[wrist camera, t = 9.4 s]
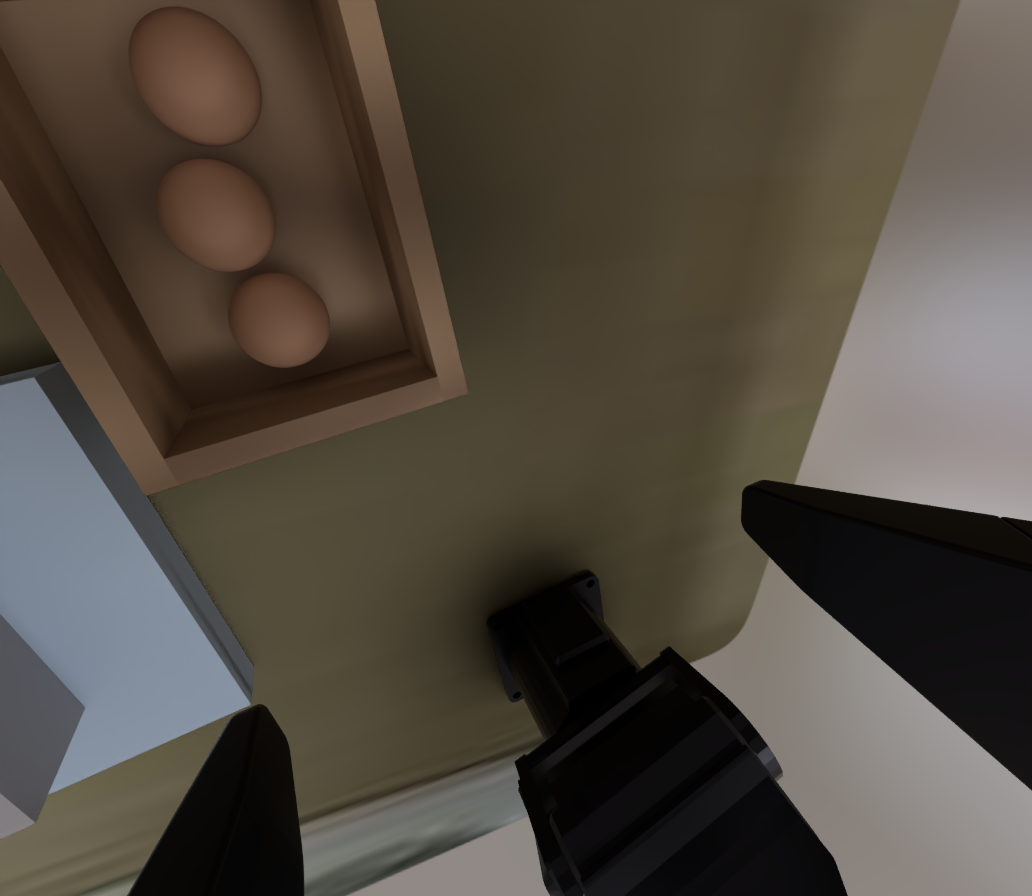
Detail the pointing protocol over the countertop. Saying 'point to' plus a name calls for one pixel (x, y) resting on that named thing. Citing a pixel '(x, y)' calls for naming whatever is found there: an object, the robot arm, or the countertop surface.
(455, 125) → the countertop surface
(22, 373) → the lid
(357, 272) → the box
